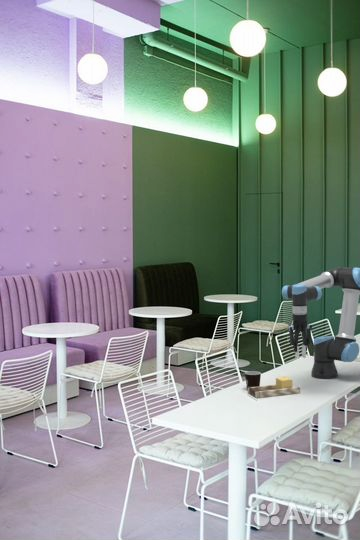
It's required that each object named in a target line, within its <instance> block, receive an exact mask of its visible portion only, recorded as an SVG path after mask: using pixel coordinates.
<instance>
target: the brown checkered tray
mask: <svg viewBox="0 0 360 540" xmlns="http://www.w3.org/2000/svg"><path fill="white" fill-rule="evenodd" d="M299 394H301V387H300V386H295V387H294V386H292V388H284V389H276V383H275V384H269V385H260V386H258V387H249V388H248V390H247V395H249V396H250V398H251V399H253V398H254V399H255V401H258V400H257V399H264V398H265V399H267V398H274V397H283V396H291V395H299Z"/></svg>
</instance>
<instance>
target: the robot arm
mask: <svg viewBox="0 0 360 540" xmlns="http://www.w3.org/2000/svg"><path fill="white" fill-rule="evenodd" d="M333 287H335V288H336V287H337V288H338V287H339V288H341V291H342V292H343V298H342V305H341V311H340V312H341V313H340V320H339V328H338V333H337V335H335V336H333V335H326V336H325V335H324V336H318V337H315V338H314V339H313V366H312V369H311V370H310V371H311V373H310V374H311V377H313V378H316V379H334V378H337V377H338V376H339V371H338V370H337V369H338V368H337V366H336V364H335V361H338V362H344V363H353V362H354V361H355V360H356V359H357V358H358V356H359V354H360V345H359V344H358V342H357V339H356V337H355V330H356V323H357V315H358V309H359V308H358V307H359V299H360V267H346V266H344V267H343V266H341V267H335V268H332V269H329V270H326V271H323V272H322V273H321V274H320V275H318V276H315V277H312V278H310V279H307V280H304V281H301V282H299V283H295V284H293V285H290V284H288V285H284V286H282V289H281V295H282V298H284V299H287V300H292V301H291V302H292V307H291V308H292V324H291V325H290V326H288V327H287V329H288V333H289V334H288V335H289V343H290V344H289V345H291V346H293V352H294V353H295V355H294V356H295V357H294V358H296V359H300V346H299V345H298V344H299V343H298V342H299V337H300V333H301V339H302V344H301V358H304V359H306V358H307V351H308V346H309V345H310V344H311V337H312V328H313V325H311V324H309V323H308V314H307V313H308V302H313V301H314V302H315V301H318V300H320V299H321V298H322V296H323V291H322V289H324V288H328V289H329V288H333Z"/></svg>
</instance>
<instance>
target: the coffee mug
mask: <svg viewBox="0 0 360 540" xmlns="http://www.w3.org/2000/svg"><path fill="white" fill-rule="evenodd" d="M261 375H262V373H261V372H260V371H256V370H250V371H245V372H244V376H245V384H246V385H245V386H246V390H247V391H248V388H249V387H258V386H261V378H262V377H261Z"/></svg>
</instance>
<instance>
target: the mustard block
mask: <svg viewBox="0 0 360 540" xmlns="http://www.w3.org/2000/svg"><path fill="white" fill-rule="evenodd" d="M275 384H276V389H284V388H293V379H291V378H290V377H287V376H282V377H280V376H279V377H275Z"/></svg>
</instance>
